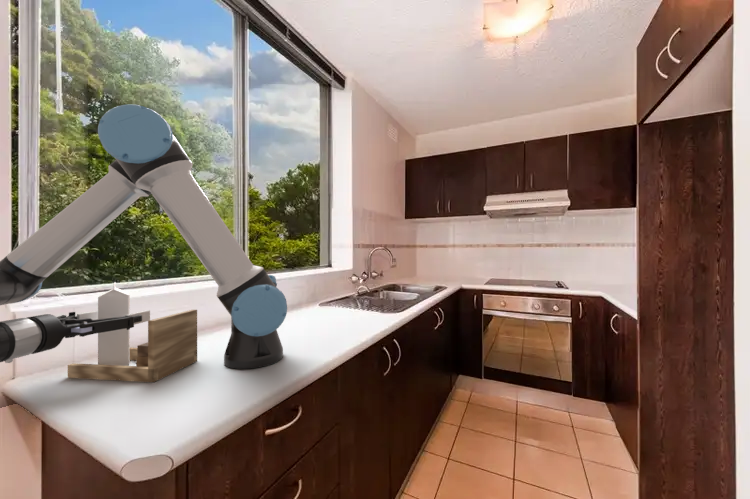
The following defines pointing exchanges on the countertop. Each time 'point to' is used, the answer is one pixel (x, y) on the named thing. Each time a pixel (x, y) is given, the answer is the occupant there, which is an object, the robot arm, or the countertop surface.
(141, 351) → the offcut
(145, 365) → the offcut
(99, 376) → the rack
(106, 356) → the milk
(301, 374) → the countertop surface
